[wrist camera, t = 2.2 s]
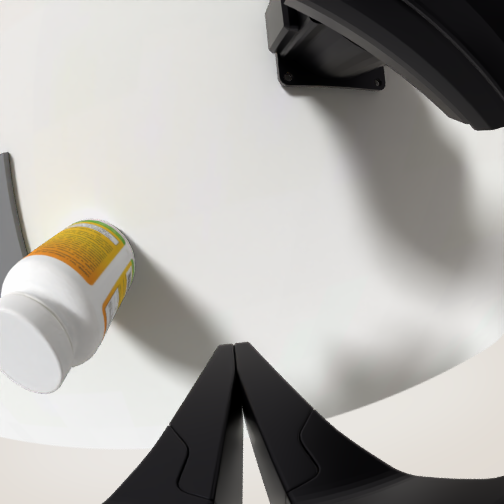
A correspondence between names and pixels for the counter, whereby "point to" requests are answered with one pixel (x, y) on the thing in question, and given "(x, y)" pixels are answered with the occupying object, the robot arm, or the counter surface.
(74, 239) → the supplement bottle
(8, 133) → the counter surface
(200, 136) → the counter surface
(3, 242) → the charcoal mat
